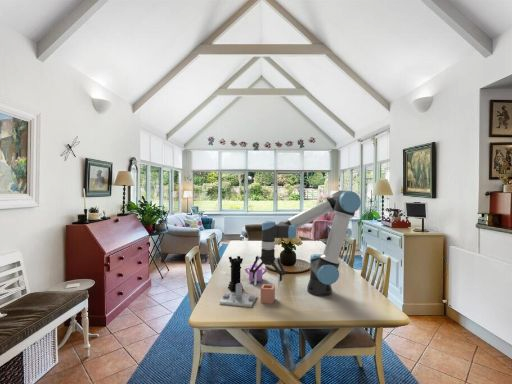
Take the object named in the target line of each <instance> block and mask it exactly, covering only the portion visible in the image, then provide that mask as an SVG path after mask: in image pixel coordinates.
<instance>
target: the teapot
mask: <svg viewBox="0 0 512 384" xmlns="http://www.w3.org/2000/svg"><path fill="white" fill-rule="evenodd" d="M252 265H253V264H250V265H249V267H246V268H244V271H245V273H247V274H248V275H249V276H248V281H249V282H250V283H254V279H253V273H252V272H250V269H251V267H252ZM258 265H259V264H258V262H257V263H256V265H255V267H254V269H253V270H255V269H256V268H257V267H258ZM263 270H264V271H263ZM267 271H268V269H267V268H265V267H263V265H262V266H261V267H260V268H259V269H258V270H257V271H256V272H257V283H262V282H263V275H264V274H265V273H267Z"/></svg>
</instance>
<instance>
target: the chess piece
mask: <svg viewBox="0 0 512 384" xmlns="http://www.w3.org/2000/svg"><path fill="white" fill-rule="evenodd" d="M228 260H229V263H230V266H229V267H230V281H229V283H228V286H227V289H228V290H229V292H231V293H236V284H237V283H242V282H241V269H242V267H241V265H242V264H243V261H244V259H243V257H241V256H240V255H237V256H236V257H235V258H233V257H232V256H228ZM243 291H245V290H244V287H243V285H242V292H243Z"/></svg>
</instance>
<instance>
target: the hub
mask: <svg viewBox="0 0 512 384" xmlns="http://www.w3.org/2000/svg"><path fill="white" fill-rule="evenodd" d="M275 288H276V285H275V284H268V283H266V284H265V283H263V284H262V285H261V287H260V303H262V304H264V303H265V304H272V305H273V304H274V302H275V300H276V299H275V298H276V297H275V296H276V294H275V293H276V292H275V291H276V289H275Z"/></svg>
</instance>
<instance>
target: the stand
mask: <svg viewBox="0 0 512 384" xmlns="http://www.w3.org/2000/svg"><path fill="white" fill-rule="evenodd" d="M242 286H243V283H242V282H241V283H237V284H236V292H231V291H229V292H225V293H224V294H223V296H222V298H221V299H220V301H219V305H225V306H234V307H242V308H243V307H244V308H252V307H253V305H254V303H255V302H256V300H257V298H258V296H257V295H258V294H253V293H252V294H250V293H243V291H242Z"/></svg>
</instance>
